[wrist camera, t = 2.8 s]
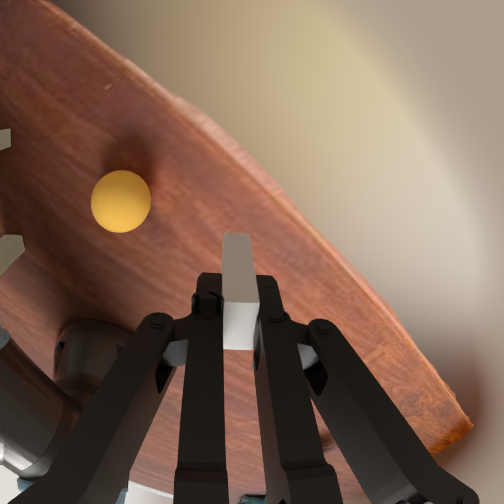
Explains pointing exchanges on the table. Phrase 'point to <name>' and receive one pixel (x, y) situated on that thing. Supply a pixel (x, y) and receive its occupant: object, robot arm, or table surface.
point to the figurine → (251, 500)
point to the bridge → (9, 246)
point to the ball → (120, 201)
